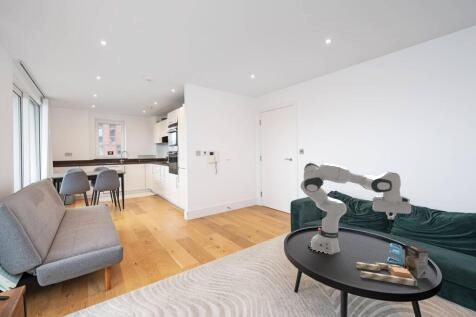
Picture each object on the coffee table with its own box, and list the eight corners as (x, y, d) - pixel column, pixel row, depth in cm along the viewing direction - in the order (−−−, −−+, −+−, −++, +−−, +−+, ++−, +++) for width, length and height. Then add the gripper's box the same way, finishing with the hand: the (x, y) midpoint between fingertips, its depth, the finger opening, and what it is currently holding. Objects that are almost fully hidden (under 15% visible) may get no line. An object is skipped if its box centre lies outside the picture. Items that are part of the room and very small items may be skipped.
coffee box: (403, 269, 131) (404, 244, 130) (413, 269, 131) (414, 244, 131) (417, 278, 122) (418, 251, 121) (427, 278, 122) (428, 251, 122)
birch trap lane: (361, 277, 123) (361, 272, 123) (355, 263, 138) (355, 259, 138) (417, 286, 115) (417, 281, 115) (404, 270, 129) (404, 266, 129)
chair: (402, 266, 134) (403, 248, 134) (386, 262, 140) (387, 244, 139) (403, 262, 140) (404, 244, 139) (388, 257, 145) (389, 240, 145)
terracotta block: (394, 279, 121) (394, 271, 121) (390, 274, 126) (390, 266, 126) (410, 282, 119) (410, 273, 118) (406, 277, 123) (406, 268, 123)
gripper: (374, 197, 132) (373, 219, 133) (413, 199, 126) (412, 222, 127) (371, 195, 138) (370, 216, 139) (408, 197, 132) (407, 219, 133)
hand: (390, 219), depth 133 cm, fingers closed
